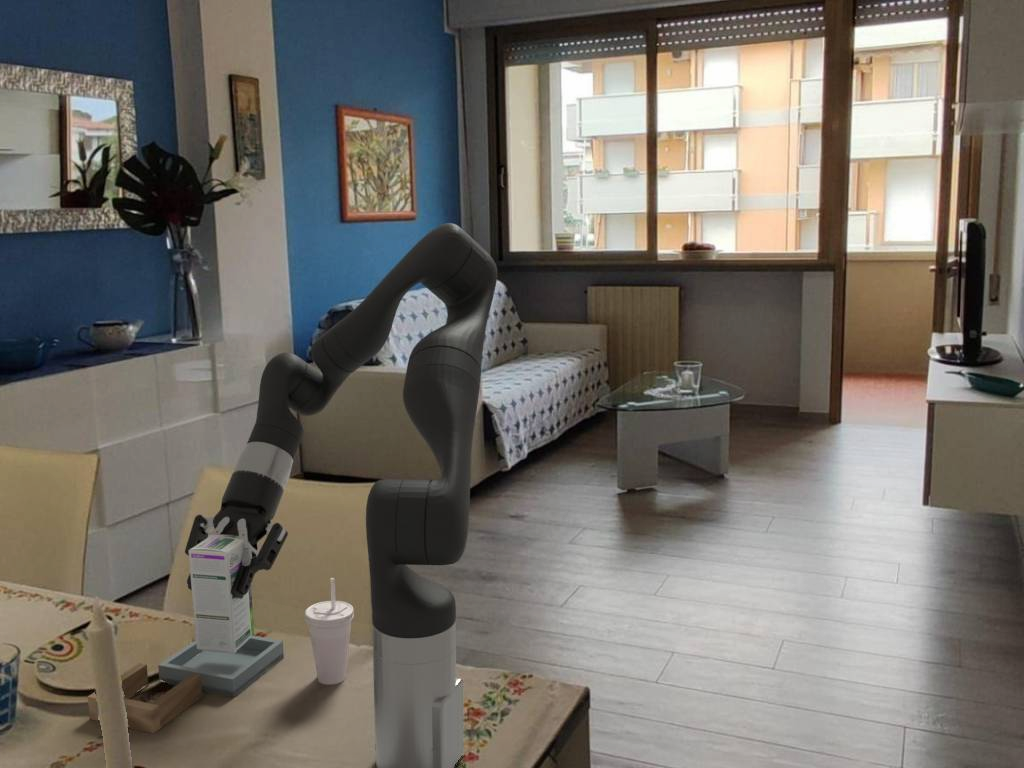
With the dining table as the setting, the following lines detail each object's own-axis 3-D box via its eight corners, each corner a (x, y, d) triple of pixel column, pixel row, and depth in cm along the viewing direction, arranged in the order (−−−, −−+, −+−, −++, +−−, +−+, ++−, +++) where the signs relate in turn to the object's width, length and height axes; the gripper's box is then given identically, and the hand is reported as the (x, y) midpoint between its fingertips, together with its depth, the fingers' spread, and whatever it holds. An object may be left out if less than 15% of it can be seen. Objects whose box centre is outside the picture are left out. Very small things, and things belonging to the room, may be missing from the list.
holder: (201, 696, 125) (200, 675, 124) (153, 733, 116) (152, 710, 116) (140, 684, 128) (139, 663, 127) (89, 719, 119) (87, 696, 119)
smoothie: (360, 684, 128) (357, 584, 125) (311, 693, 125) (307, 591, 123) (350, 663, 134) (347, 567, 131) (303, 671, 131) (299, 573, 129)
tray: (283, 657, 135) (282, 640, 135) (234, 697, 124) (232, 679, 124) (213, 644, 139) (212, 628, 138) (159, 682, 128) (158, 664, 128)
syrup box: (235, 655, 128) (229, 551, 125) (194, 650, 129) (187, 547, 126) (255, 635, 133) (250, 536, 130) (215, 631, 135) (210, 532, 132)
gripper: (314, 498, 137) (273, 610, 129) (227, 489, 142) (183, 597, 133) (291, 472, 131) (247, 588, 123) (202, 464, 136) (154, 576, 127)
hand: (214, 592), depth 128 cm, fingers closed on syrup box, 6 cm apart
